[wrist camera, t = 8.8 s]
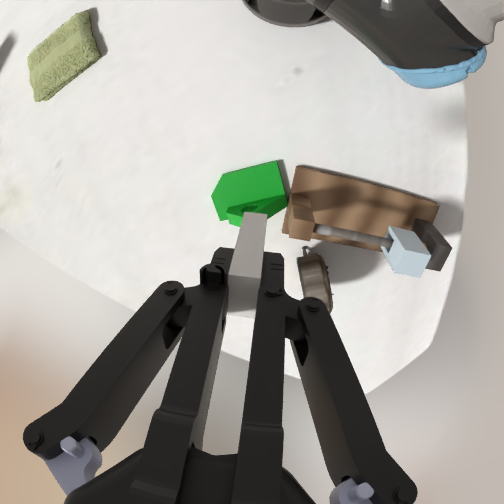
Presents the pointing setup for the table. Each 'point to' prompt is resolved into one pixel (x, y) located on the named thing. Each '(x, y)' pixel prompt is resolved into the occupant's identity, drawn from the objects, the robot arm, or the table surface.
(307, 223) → the wooden slider rail stand
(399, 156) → the table surface
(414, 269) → the light blue block
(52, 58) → the washcloth
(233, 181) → the bracket
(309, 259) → the alarm clock
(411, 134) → the table surface
